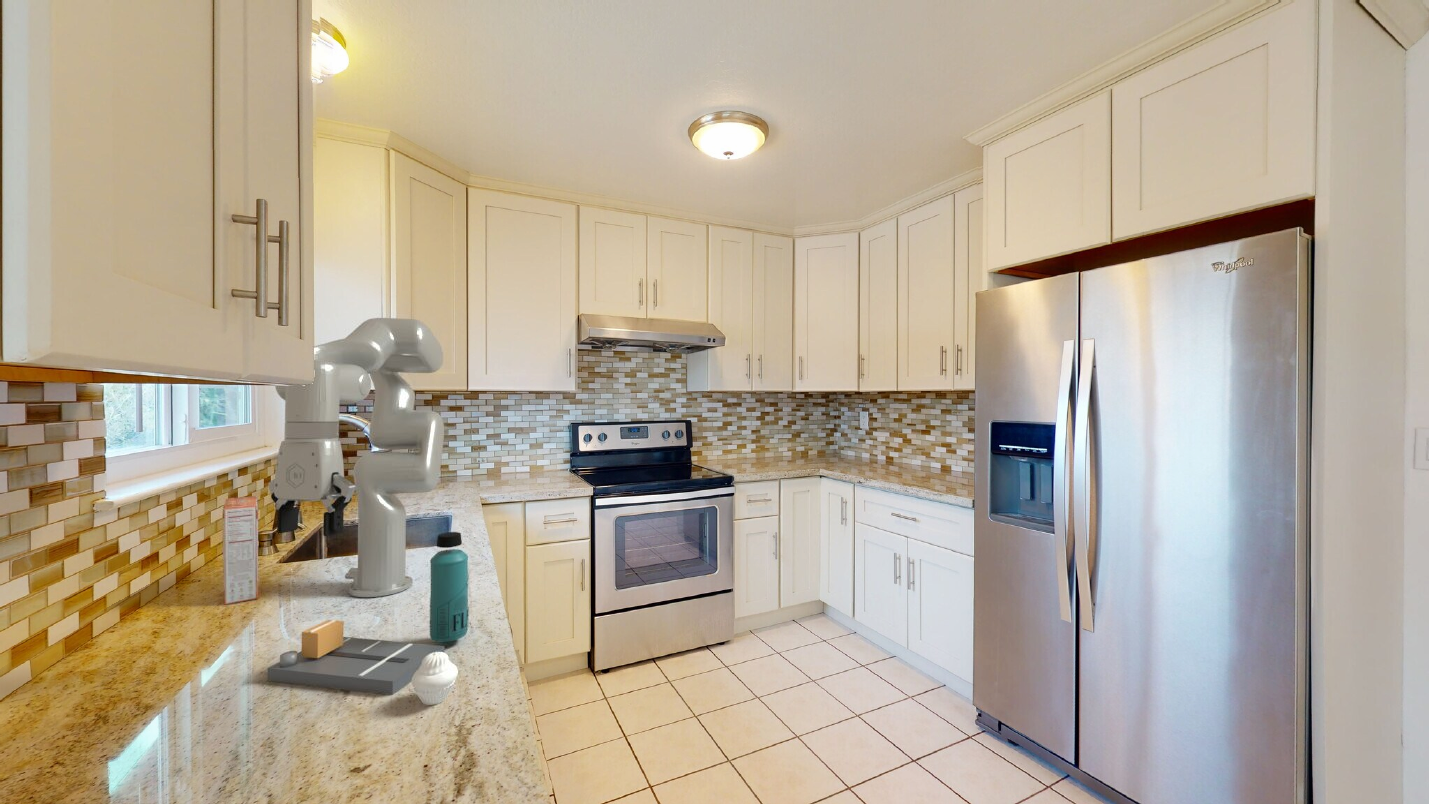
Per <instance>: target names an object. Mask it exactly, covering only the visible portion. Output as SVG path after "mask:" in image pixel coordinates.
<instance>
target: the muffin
mask: <svg viewBox="0 0 1429 804" xmlns="http://www.w3.org/2000/svg"><path fill="white" fill-rule="evenodd" d="M458 675H459V671H458V667H457V666H456V664H454V663H452V661H450V659H449V656H448V654H447V653H445V651H444V652H435V653H434V652H433V653H430V654H429V655H427V656H426V657H425V658H424V659H423V660H422V665H421V666H420V667H419V669H418V670H417V671H416V672H415V674H414V675H413V677H412V680H411V682H410V683H411V686H412V687H413V690H414V692H415V694H416V695H417V697H418V698H419V700H420V701H421V703H422V704H423V705H426V706H435V705H439V704H441V703H442V702H444V701H445V700H446V699H448V697H449V694H450V693H451V691H452V689H453V687H454V684H455V683H456V679H457V677H458Z"/></svg>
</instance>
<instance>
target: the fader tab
mask: <svg viewBox="0 0 1429 804" xmlns="http://www.w3.org/2000/svg"><path fill="white" fill-rule="evenodd" d="M343 637H344V620H336V619H333V620H332V619H327V620H325V621H322V622H321V623H318V624H316V625H314V626H311V627H310V628H308V629H305V630H303V631H301V651H302V657H309V658H319V657H321V656H323V655H325V654H327V653H329V652H331V651H332V650H334V649H336V648H338V647H340V646H342V645H343Z"/></svg>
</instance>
